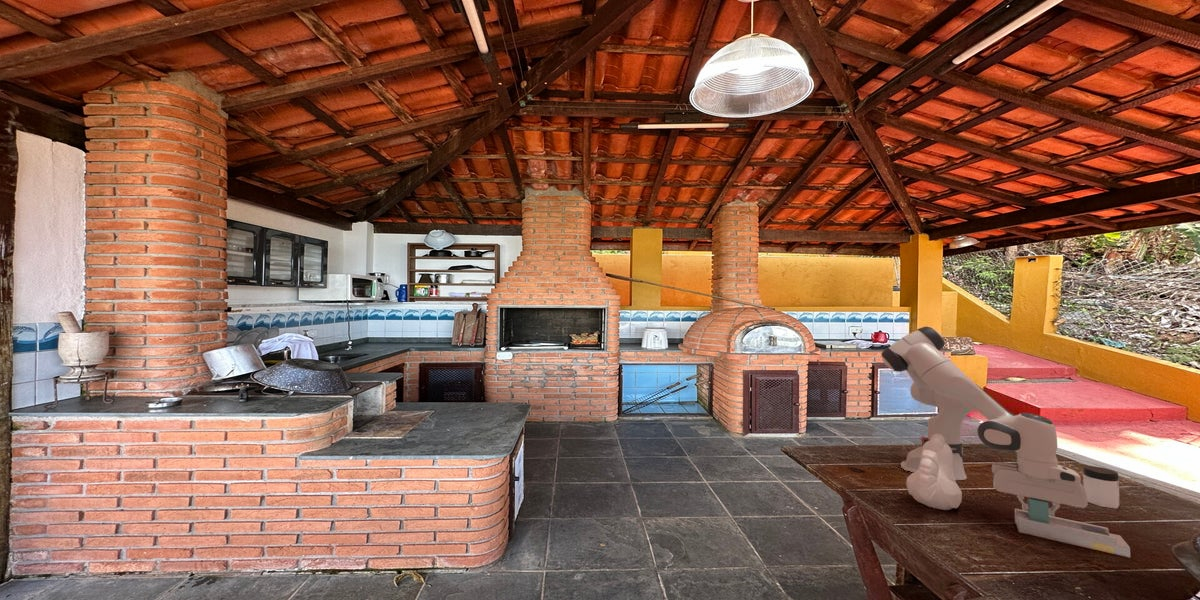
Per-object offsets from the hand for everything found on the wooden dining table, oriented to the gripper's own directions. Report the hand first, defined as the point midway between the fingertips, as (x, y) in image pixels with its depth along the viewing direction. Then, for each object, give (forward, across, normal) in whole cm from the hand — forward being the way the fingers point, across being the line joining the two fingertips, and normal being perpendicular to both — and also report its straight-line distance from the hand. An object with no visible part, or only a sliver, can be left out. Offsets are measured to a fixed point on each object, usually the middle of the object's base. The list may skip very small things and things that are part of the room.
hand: (1038, 512), depth 131 cm
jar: (+7, +22, +46) cm, 52 cm away
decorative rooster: (+7, -27, +4) cm, 28 cm away
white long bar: (+7, +6, 0) cm, 9 cm away
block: (+2, 0, 0) cm, 2 cm away
